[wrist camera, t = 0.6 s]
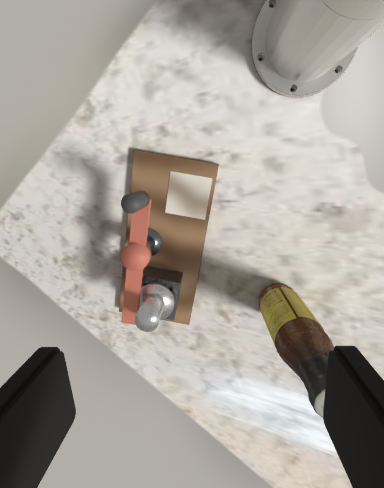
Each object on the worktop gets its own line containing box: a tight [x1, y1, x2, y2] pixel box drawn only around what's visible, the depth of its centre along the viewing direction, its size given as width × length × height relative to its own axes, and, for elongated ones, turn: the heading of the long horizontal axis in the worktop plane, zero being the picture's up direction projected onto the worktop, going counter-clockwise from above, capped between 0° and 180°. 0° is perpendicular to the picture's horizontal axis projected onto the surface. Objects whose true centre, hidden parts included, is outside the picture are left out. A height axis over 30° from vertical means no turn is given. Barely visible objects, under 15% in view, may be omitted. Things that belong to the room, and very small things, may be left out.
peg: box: [135, 283, 175, 332], centre depth 38 cm, size 6×6×10 cm
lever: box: [121, 191, 152, 324], centre depth 33 cm, size 18×4×6 cm, turn 171°
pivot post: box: [146, 228, 162, 256], centre depth 38 cm, size 4×4×5 cm
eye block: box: [141, 266, 183, 320], centre depth 41 cm, size 6×6×4 cm
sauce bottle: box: [259, 284, 334, 417], centre depth 33 cm, size 6×6×20 cm
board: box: [119, 150, 219, 325], centre depth 41 cm, size 26×12×1 cm, turn 171°
